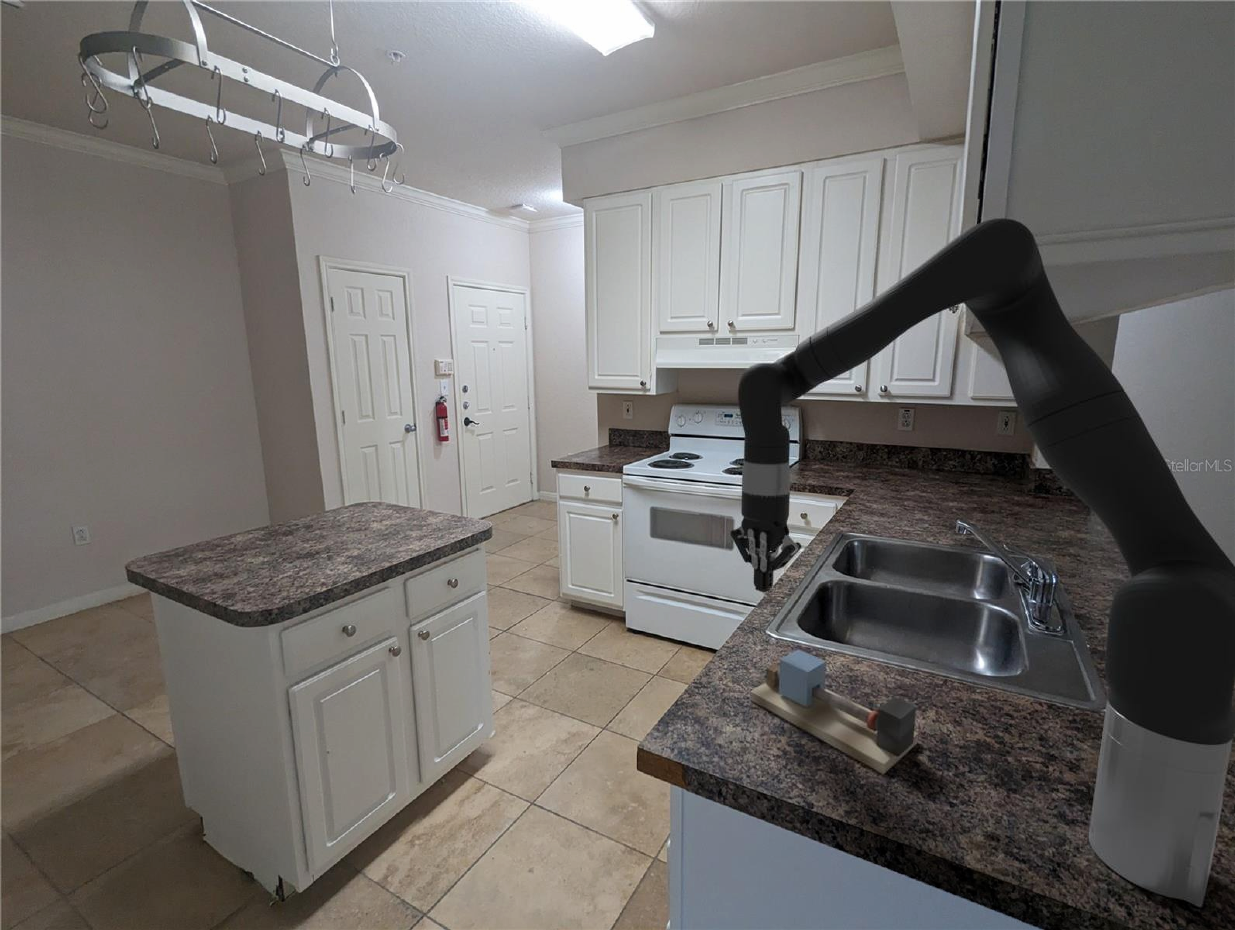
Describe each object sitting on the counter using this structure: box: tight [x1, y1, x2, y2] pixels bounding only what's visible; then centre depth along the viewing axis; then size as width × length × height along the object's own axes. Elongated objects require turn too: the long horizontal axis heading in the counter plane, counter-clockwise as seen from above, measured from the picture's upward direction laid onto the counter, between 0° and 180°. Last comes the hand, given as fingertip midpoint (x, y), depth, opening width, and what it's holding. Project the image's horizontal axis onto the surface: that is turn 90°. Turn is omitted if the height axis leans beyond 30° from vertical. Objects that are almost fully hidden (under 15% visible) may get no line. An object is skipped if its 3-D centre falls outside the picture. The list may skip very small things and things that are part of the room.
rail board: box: [749, 663, 920, 775], centre depth 84 cm, size 22×10×7 cm, turn 38°
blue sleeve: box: [779, 648, 827, 707], centre depth 87 cm, size 5×5×6 cm
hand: (762, 590), depth 92 cm, fingers closed
